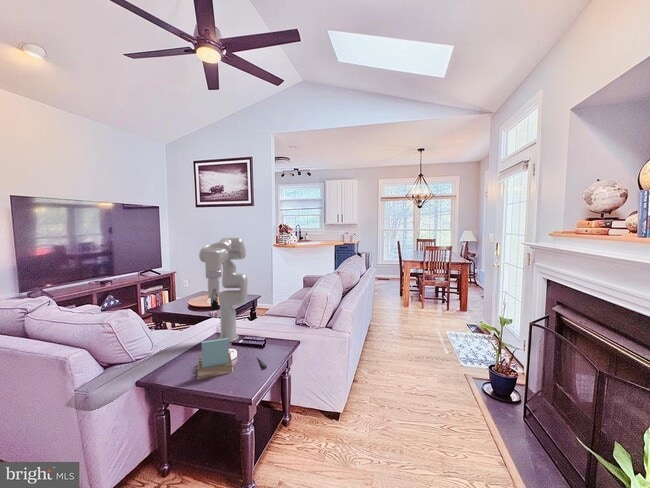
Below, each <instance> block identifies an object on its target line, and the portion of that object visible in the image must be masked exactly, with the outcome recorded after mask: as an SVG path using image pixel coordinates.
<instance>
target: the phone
mask: <svg viewBox="0 0 650 488" xmlns="http://www.w3.org/2000/svg"><path fill="white" fill-rule="evenodd" d="M256 360H257V363H258V365H259V367H260V370H261V371H264V370H267V368H268V367H267V366H268V365H266V364H265V363H264V362H263V361H262V360H260V359H259V358H258V356H256Z"/></svg>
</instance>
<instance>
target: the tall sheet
mask: <svg viewBox="0 0 650 488" xmlns="http://www.w3.org/2000/svg"><path fill="white" fill-rule="evenodd" d="M229 343H230V342H229V339H228V338H224V339H218V338H217V339H212V340H210V339H209V340H204V341H201V357H202V368H207V367H213V366H219V365H224V364H229V353H230V352H229V351H230V350H229V347H230V346H229Z"/></svg>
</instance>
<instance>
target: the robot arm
mask: <svg viewBox="0 0 650 488" xmlns="http://www.w3.org/2000/svg"><path fill="white" fill-rule="evenodd" d="M246 251H247V250H246V247H245V244H244V241H243V240H242V238H240V237H224V238H221V239H220V240H219V241H218V242H215V243H211V244H206V245H204V246H203V247H201V249H200V251H199V255H198V258H199V260H200V261H201V263H204V264H205V278H206V279H207V297H208V299H210V307H211V308H210V309H211V311H218V310H219V314H220V315H219V316H220V317H219V319H220V322H219V323H220V326H219V327H220V336H218V338H217V339H224V338H228V339H229V343H231V342H232V343H233V342H235V341H237V340H238V339H239V337H240V336H239V335H238V334H237V311H236V309H235V308H234V306H243V305H246V304H247V302H248V284H249V283H248V276H247V275H246V274H245V273H237V265H236V264H235V263H234V261H235V260H244V259H245V258H246V256H247V253H246ZM233 260H234V261H233ZM220 278H222V279H221V283H222V285H221V286H222V287H223V288H224V289H229V290H223V291H221V292H220ZM231 289H232V290H231ZM235 289H237V290H235ZM234 340H235V341H234Z"/></svg>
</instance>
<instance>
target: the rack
mask: <svg viewBox="0 0 650 488" xmlns="http://www.w3.org/2000/svg"><path fill="white" fill-rule="evenodd" d="M232 373H234V369H233V362H232V357H231V352H229V364H224V365H219V366H213V367H207V368H202V356H201V357H200V356H199V358H198V364H197V373H196V374H197V377H196V379H197V380H201V379H206V378H211V377H216V376H221V375H227V374H232Z"/></svg>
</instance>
